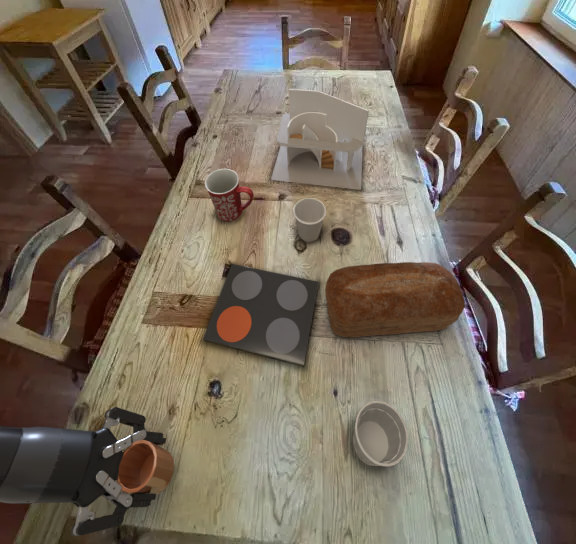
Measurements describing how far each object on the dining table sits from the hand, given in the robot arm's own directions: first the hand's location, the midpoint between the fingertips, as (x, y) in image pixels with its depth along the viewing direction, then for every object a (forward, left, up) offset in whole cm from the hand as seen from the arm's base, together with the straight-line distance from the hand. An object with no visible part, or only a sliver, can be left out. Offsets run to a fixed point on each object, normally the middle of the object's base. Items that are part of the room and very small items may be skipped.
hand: (158, 467), depth 54 cm
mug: (+55, +8, -7) cm, 56 cm away
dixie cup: (+53, -14, -7) cm, 55 cm away
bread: (+36, -35, -7) cm, 51 cm away
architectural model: (+81, -12, -7) cm, 82 cm away
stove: (+30, -8, -7) cm, 32 cm away
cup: (+12, -33, -7) cm, 36 cm away
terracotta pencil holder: (-1, +2, -5) cm, 5 cm away
